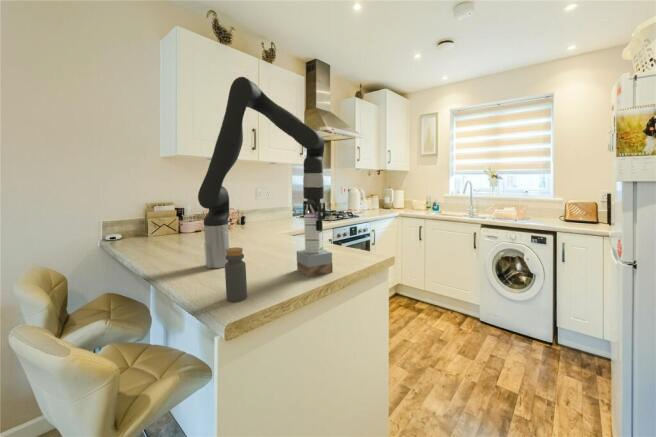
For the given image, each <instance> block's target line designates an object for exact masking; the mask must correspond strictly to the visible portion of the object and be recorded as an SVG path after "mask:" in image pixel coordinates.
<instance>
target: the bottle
mask: <svg viewBox="0 0 656 437" xmlns="http://www.w3.org/2000/svg"><path fill="white" fill-rule="evenodd" d="M243 250H244V248H243V247H229V249H226V252H227V255H226V260H228V262H227V263H226V264H225V267H224V274H225V275H224V278H225V291H226V292H225V294H226V301H227V302H230V303H231V302H232V303H237V302H242V301H244V300H246V299H247V298H248V284H247V283H248V282H247V268H246V267H247V266H246V262H245V261H243V259H244V258H245V255H244V253H243Z"/></svg>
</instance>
